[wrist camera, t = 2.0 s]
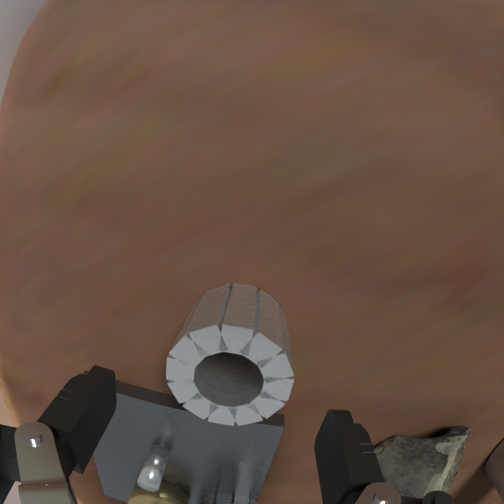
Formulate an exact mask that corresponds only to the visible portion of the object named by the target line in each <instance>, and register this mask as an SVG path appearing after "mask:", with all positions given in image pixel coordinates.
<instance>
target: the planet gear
mask: <svg viewBox="0 0 504 504" xmlns="http://www.w3.org/2000/svg"><path fill="white" fill-rule="evenodd" d="M256 290H257V286H252V285H246V284H240V283H235V282H234V284H233V287H231V285H230V283H227V284H224V285H221V286H218V287H215V288H212V289H209V290H208V292H207V293H206V292H205V293H204V294H203V295H202V296H201V297H200V299H199V300H198V301H197V302H196V303H195V305H194V306H193V307H192V309H191V311H190V313H189V314H188V316H187V318H186V320H185V322H184V324H183V326H182V328H181V330H180V332H179V334H178V336H177V338H176V340H175V342H174V344H173V346H172V348H171V350H170V352H169V354H168V356H167V366H166V380H168V382H167V384H168V386H169V388H170V389H171V391H172V393H173V394H174V396H175V397H176V399H177V401H178V402H179V403H183V406H182V407H184V408H185V409H187V410H189V411H190V412H192V413H193V414H195V415H196V416H198V417H200V418H201V419H203V420H204V419H205V418H207V417H208V416H209V418H208V422H213V423H218V424H224V425H230V426H234V422H235V421H236V423H237V424H238V426H241V425H246V424H250V423H255V422H259V421H263V417H265V418H269V417H270V416H271V415H273V414H274V413H275V412H276V411H278V410H279V409H280V408H281V407H282V406H284V405H285V401H288V398H289V395H290V392H291V389H292V385H293V382H294V371H293V363H292V356H291V348H290V340H289V333H288V326H287V322H286V319H285V317H284V314H283V311H282V308H281V306H280V305H279V306H278V302H277V301H276V300H275V299H274V298H272V297H271V296H270V295H269V294H267V293H266V292H265V291H264V290H262V289H261V288H260V289H259V290H258V291H257V293H256Z"/></svg>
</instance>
